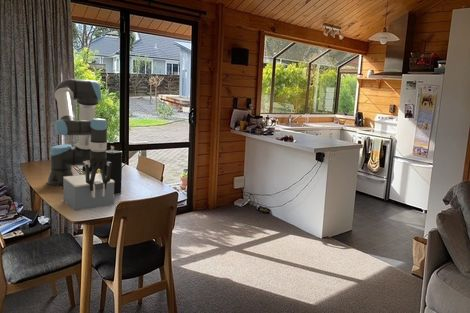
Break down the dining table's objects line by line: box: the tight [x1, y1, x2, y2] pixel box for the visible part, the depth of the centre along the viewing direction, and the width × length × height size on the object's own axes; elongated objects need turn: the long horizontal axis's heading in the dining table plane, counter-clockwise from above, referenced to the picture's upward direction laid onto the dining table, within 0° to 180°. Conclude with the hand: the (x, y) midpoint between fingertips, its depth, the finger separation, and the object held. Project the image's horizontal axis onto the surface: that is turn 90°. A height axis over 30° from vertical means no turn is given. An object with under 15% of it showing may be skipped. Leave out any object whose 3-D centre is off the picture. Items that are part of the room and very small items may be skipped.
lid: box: [63, 172, 115, 190], centre depth 193 cm, size 24×20×3 cm
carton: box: [62, 179, 115, 211], centre depth 196 cm, size 18×20×12 cm
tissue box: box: [104, 145, 123, 196], centre depth 214 cm, size 8×8×28 cm
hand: (98, 196), depth 186 cm, fingers closed on lid, 4 cm apart
